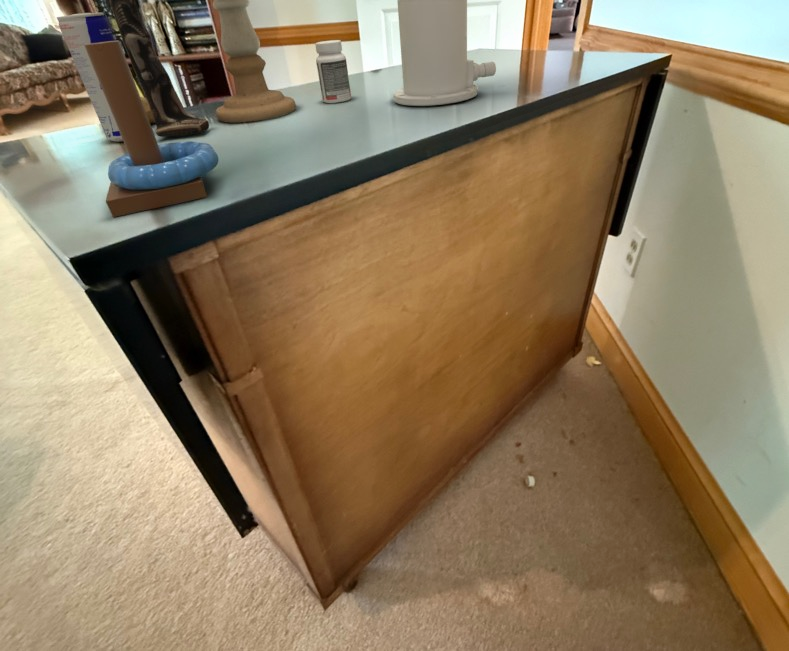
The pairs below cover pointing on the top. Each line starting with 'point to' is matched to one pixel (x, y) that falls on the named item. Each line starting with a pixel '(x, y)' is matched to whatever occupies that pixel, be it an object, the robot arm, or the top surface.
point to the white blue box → (76, 36)
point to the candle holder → (246, 69)
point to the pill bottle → (332, 72)
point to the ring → (165, 167)
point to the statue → (153, 75)
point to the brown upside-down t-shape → (133, 133)
